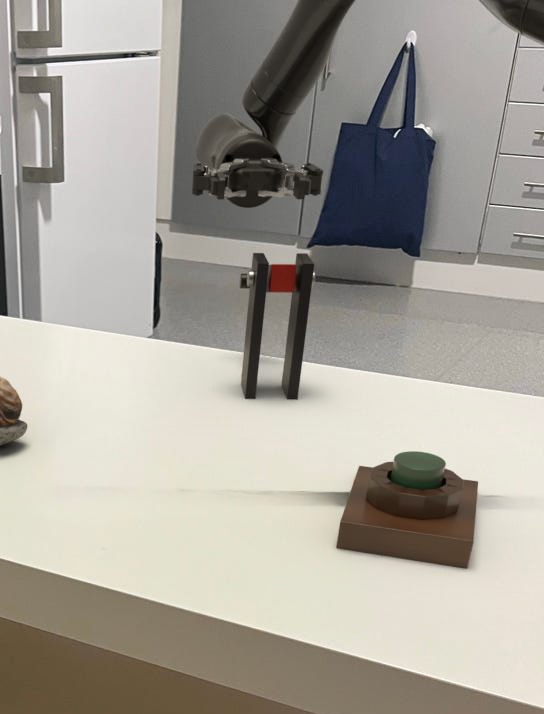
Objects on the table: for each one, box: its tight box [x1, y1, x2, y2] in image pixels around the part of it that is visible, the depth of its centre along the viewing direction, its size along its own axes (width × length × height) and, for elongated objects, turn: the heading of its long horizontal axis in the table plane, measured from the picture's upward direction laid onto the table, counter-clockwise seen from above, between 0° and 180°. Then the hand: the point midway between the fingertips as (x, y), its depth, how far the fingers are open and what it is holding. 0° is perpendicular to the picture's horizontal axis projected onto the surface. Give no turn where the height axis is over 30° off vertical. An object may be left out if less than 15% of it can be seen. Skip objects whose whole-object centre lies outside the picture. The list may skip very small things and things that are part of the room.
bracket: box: [240, 252, 316, 401], centre depth 96 cm, size 10×8×14 cm
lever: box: [239, 263, 296, 294], centre depth 98 cm, size 13×5×2 cm, turn 177°
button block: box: [335, 461, 479, 570], centre depth 75 cm, size 11×9×4 cm
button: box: [390, 450, 447, 490], centre depth 74 cm, size 4×4×2 cm
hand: (261, 189), depth 108 cm, fingers open, 8 cm apart
